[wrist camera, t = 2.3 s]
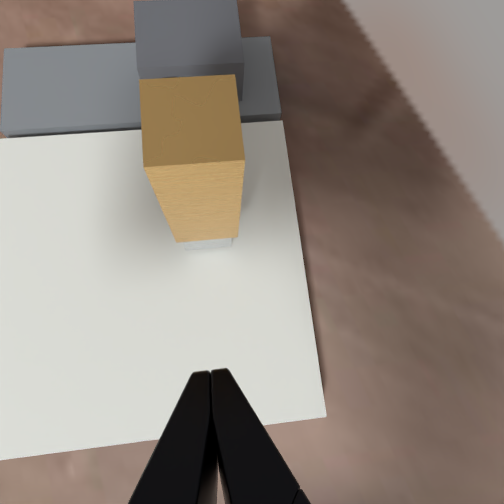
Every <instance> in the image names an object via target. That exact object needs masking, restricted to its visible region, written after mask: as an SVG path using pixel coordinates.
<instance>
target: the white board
mask: <svg viewBox="0 0 504 504" xmlns="http://www.w3.org/2000/svg"><path fill="white" fill-rule="evenodd" d="M134 20H135V41H136V43H116V44H94V45H72V46H51V47H29V48H7V49H4V62H3V83H2V104H1V124H0V131H1V132H2V133H3V134H4V135H5V136H6V137H7V138H5V139H0V460H5V459H12V458H20V457H28V456H35V455H43V454H50V453H58V452H65V451H73V450H80V449H88V448H95V447H103V446H110V445H118V444H125V443H133V442H141V441H148V440H156V439H160V437H161V435H162V433H163V431H164V429H165V427H166V424H167V422H168V420H169V418H170V416H171V414H172V412H173V410H174V408H175V406H176V404H177V402H178V400H179V398H180V396H181V394H182V392H183V390H184V388H185V386H186V383H187V381H188V379H189V377H190V375H191V374H192V373H193V372H195V371H203V370H208V371H210V373H211V370H213V369H220V368H228V369H229V370H230V372H231V374H232V375H233V377H234V379H235V380H236V382H237V383H238V385H239V387H240V388H241V390H242V392H243V393H244V395H245V397H246V398H247V400H248V402H249V403H250V405H251V407H252V408H253V410H254V411H255V413H256V415H257V416H258V418H259V420H260V421H261V423H262V425H269V424H276V423H284V422H291V421H299V420H306V419H314V418H321V417H327V416H326V409H325V403H324V396H323V389H322V382H321V376H320V369H319V362H318V355H317V349H316V342H315V335H314V328H313V322H312V315H311V308H310V302H309V295H308V288H307V281H306V275H305V268H304V261H303V254H302V248H301V241H300V234H299V227H298V221H297V214H296V207H295V201H294V194H293V187H292V180H291V174H290V167H289V160H288V153H287V147H286V140H285V133H284V126H283V120H282V121H280V118H281V106H280V100H279V93H278V86H277V79H276V73H275V66H274V59H273V52H272V46H271V39H270V36H268V37H246V38H241V31H240V23H239V15H238V7H237V0H152V1H134ZM232 74H235V78H236V87H237V95H238V104H239V112H240V120H241V129H242V137H243V145H244V154H245V167H244V178H243V188H242V199H241V209H240V220H239V230H238V237H235V238H232V244H231V247H220V248H209V249H198V250H187V251H186V250H185V247H184V244H183V242H179V243H176V241H175V238H174V236H173V234H172V232H171V229H170V227H169V225H168V222H167V220H166V218H165V216H164V213H163V211H162V209H161V206H160V204H159V202H158V200H157V197H156V195H155V193H154V190H153V188H152V186H151V184H150V181H149V179H148V177H147V175H146V172H145V170H144V168H143V150H142V130H141V110H140V90H139V79H158V78H176V77H195V76H213V75H232Z"/></svg>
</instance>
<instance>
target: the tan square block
mask: <svg viewBox="0 0 504 504" xmlns="http://www.w3.org/2000/svg"><path fill="white" fill-rule="evenodd" d="M139 90H140V110H141V130H142V150H143V168H144V170H145V172H146V175H147V177H148V179H149V181H150V184H151V186H152V188H153V190H154V193H155V195H156V197H157V200H158V202H159V204H160V206H161V209H162V211H163V213H164V216H165V218H166V220H167V222H168V225H169V227H170V229H171V232H172V234H173V236H174V238H175V241H176V243H179V242H183V244H184V247H185V250H186V251H187V250H198V249H209V248H220V247H231V244H232V238H235V237H238V230H239V220H240V209H241V199H242V188H243V178H244V167H245V154H244V145H243V137H242V129H241V120H240V112H239V104H238V95H237V87H236V78H235V74H232V75H213V76H195V77H176V78H158V79H139Z"/></svg>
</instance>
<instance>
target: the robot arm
mask: <svg viewBox="0 0 504 504" xmlns="http://www.w3.org/2000/svg"><path fill="white" fill-rule="evenodd" d="M218 466H219V472H220V479H221V484H222V490H223V495H224V500H225V504H311V503H310V502H309V500H308V498H307V497H306V495H305V493H304V492H303V490H302V489H300V485H299V484H298V482H297V481H296V479H295V477H294V476H293V474H292V472H291V471H290V469H289V467H288V466H287V464H286V462H285V461H284V459H283V457H282V456H281V454H280V453H279V451H278V449H277V448H276V446H275V444H274V443H273V441H272V439H271V438H270V436H269V434H268V433H267V431H266V430H265V428H264V426H263V425H262V423H261V421H260V420H259V418H258V416H257V415H256V413H255V411H254V410H253V408H252V407H251V405H250V403H249V402H248V400H247V398H246V397H245V395H244V393H243V392H242V390H241V388H240V387H239V385H238V383H237V382H236V380H235V379H234V377H233V375H232V374H231V372H230V370H229V369H228V368H220V369H213V370H211V373H210V371H208V370H203V371H195V372H193V373H192V374H191V375H190V377H189V379H188V381H187V383H186V386H185V388H184V390H183V392H182V394H181V396H180V398H179V400H178V402H177V404H176V406H175V408H174V410H173V412H172V414H171V416H170V418H169V420H168V422H167V424H166V427H165V429H164V431H163V433H162V435H161V437H160V439H159V441H158V443H157V445H156V447H155V449H154V451H153V453H152V455H151V457H150V459H149V461H148V463H147V465H146V467H145V470H144V472H143V474H142V476H141V478H140V480H139V482H138V484H137V486H136V488H135V490H134V492H133V494H132V496H131V498H130V500H129V502H128V504H217V484H218Z"/></svg>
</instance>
